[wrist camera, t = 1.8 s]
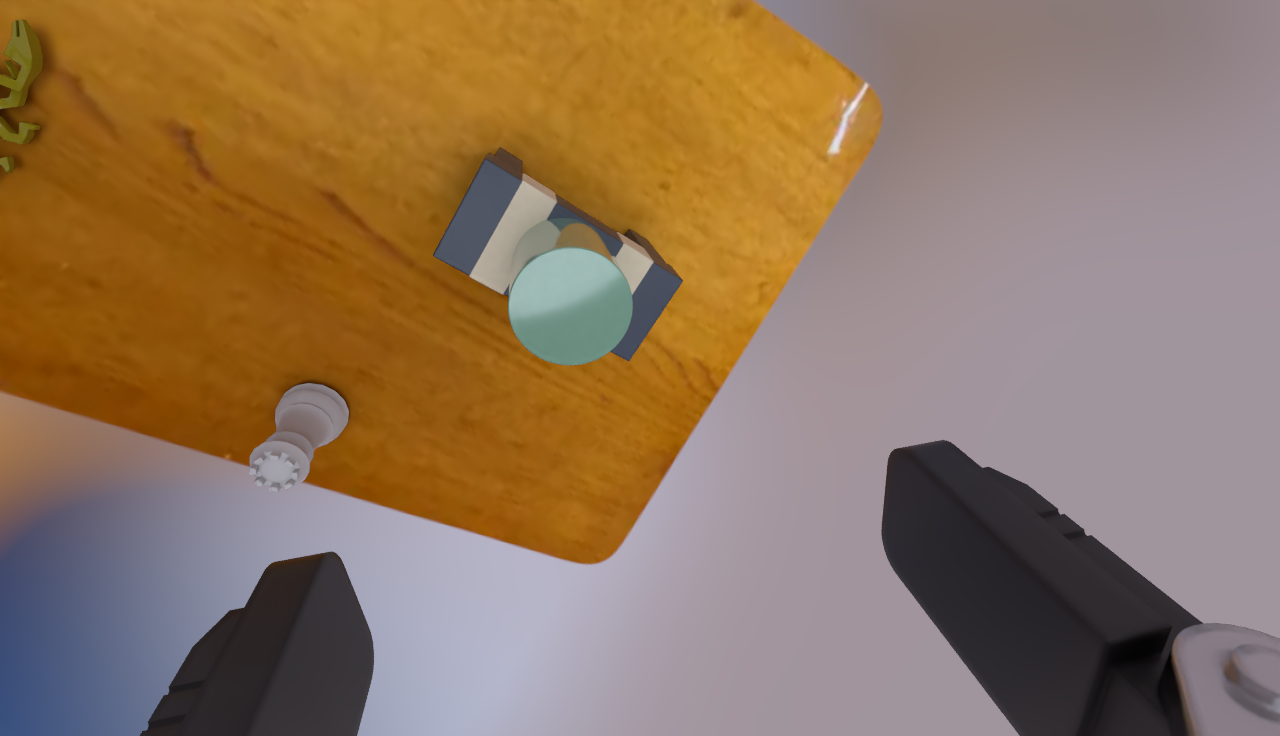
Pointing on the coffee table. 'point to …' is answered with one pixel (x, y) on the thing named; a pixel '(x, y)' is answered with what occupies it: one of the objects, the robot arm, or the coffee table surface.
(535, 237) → the mint green cylinder
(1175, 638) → the robot arm
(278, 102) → the coffee table surface
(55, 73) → the coffee table surface
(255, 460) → the rook chess piece
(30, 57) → the scorpion
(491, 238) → the barricade
